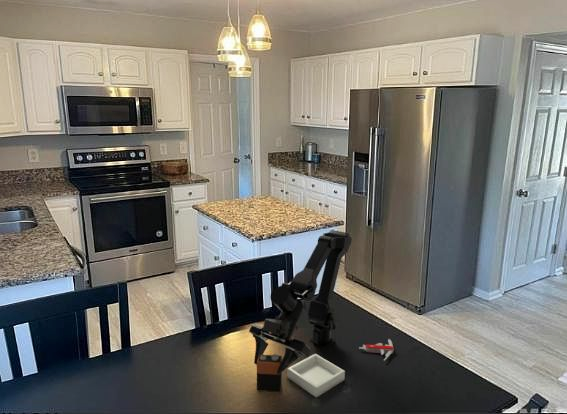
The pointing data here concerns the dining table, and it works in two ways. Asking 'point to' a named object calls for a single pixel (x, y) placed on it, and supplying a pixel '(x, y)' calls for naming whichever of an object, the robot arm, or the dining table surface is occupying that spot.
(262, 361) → the battery
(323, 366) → the parts tray
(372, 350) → the swiss army knife
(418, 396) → the dining table surface
